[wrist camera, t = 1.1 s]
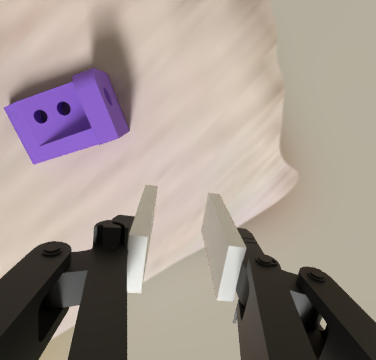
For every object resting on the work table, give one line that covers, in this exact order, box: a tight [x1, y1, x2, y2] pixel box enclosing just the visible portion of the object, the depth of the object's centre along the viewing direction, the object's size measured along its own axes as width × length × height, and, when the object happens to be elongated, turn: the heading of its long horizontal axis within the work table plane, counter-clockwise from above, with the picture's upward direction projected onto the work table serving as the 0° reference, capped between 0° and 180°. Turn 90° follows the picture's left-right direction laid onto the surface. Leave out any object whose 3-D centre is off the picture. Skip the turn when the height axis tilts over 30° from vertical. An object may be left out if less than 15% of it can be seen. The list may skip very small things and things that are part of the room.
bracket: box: [4, 68, 130, 164], centre depth 28 cm, size 12×7×7 cm, turn 108°
